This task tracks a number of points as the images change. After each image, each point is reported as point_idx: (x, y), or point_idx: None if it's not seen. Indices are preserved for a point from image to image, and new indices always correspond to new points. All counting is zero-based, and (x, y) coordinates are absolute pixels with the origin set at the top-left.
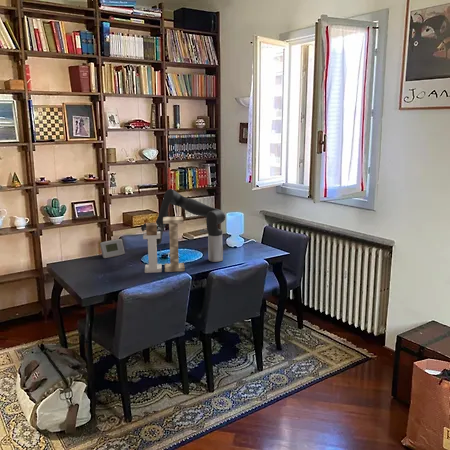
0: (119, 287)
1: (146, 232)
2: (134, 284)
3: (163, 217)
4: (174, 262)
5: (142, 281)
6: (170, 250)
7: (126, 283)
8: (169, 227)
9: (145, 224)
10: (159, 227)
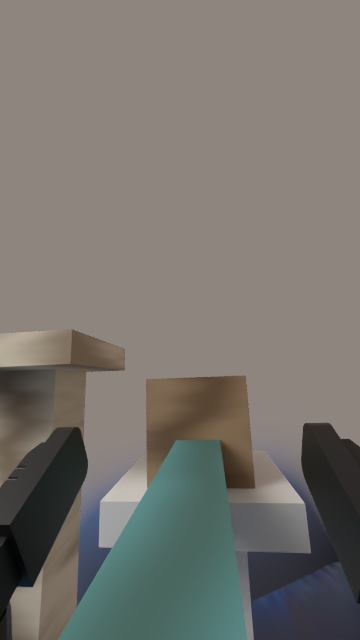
0: (342, 584)
1: (263, 490)
2: (292, 602)
3: (79, 333)
4: None
5: (266, 629)
6: (73, 587)
7: (337, 618)
8: (83, 399)
9: (307, 440)
10: (21, 574)
